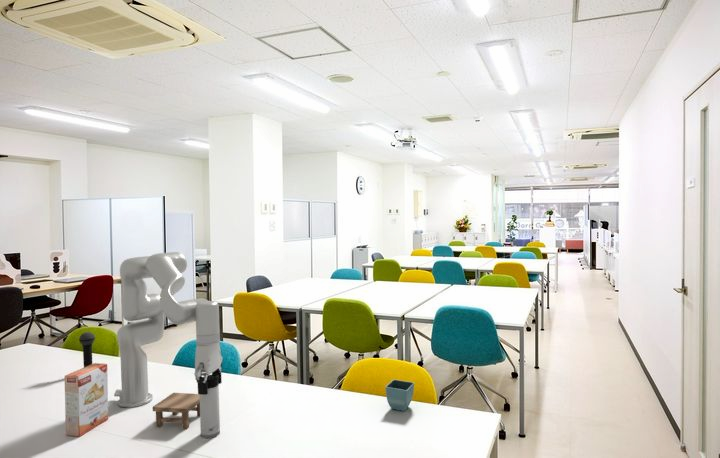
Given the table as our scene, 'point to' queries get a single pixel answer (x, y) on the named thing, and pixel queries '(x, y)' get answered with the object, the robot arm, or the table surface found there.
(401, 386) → the flower pot
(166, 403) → the stool
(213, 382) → the travel mug
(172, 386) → the table surface
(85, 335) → the microphone
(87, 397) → the cracker box
